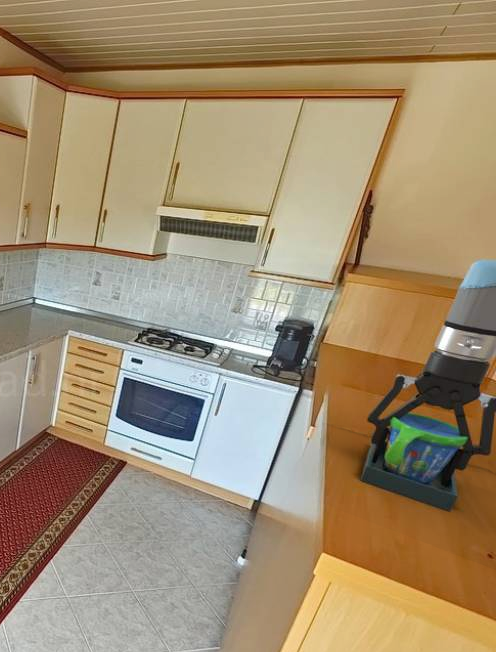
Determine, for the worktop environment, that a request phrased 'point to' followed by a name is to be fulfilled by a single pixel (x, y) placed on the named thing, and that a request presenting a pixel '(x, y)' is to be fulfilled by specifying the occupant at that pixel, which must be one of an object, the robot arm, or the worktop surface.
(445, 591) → the worktop surface
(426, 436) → the snack cup
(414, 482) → the rectangular tray
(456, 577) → the worktop surface
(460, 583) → the worktop surface
